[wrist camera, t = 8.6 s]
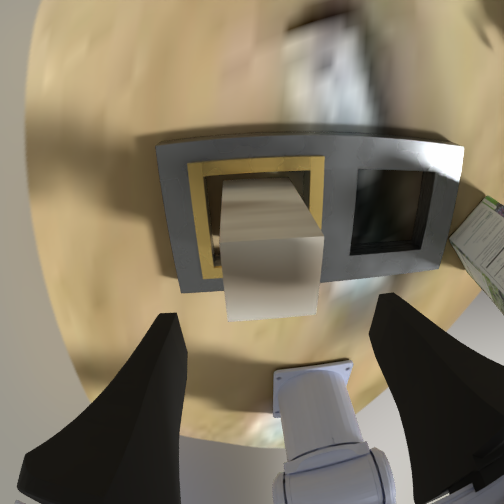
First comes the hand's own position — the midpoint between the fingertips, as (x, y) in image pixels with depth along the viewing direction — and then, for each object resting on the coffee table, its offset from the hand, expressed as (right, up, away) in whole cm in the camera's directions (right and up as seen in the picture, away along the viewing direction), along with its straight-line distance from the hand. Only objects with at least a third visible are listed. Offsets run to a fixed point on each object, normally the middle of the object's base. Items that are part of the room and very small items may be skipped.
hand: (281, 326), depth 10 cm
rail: (+4, +6, +9) cm, 11 cm away
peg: (-1, +5, +9) cm, 10 cm away
